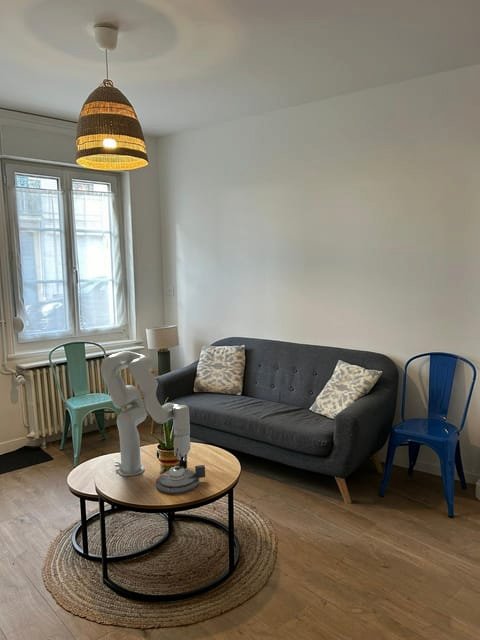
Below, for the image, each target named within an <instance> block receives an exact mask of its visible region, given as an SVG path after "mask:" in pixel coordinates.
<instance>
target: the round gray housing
mask: <svg viewBox="0 0 480 640" xmlns="http://www.w3.org/2000/svg"><path fill="white" fill-rule="evenodd" d="M184 473H185V478H184V479H183V480H179V481H172V480H170V479H169V470H165V472H163V473H161V474H160V475H159V476H158V478H159V483H160V484H161V485H162V486H165V487H169V488H179V487H184V486H187V485H190V484H192V483H193V482H194V481H195V480H196V478H199V479H201V478H202V479H203V478H206V465H205V464H200V465H194V471H193V470H191V469H187V468H186V469H184Z"/></svg>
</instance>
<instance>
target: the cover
mask: <svg viewBox="0 0 480 640" xmlns="http://www.w3.org/2000/svg"><path fill="white" fill-rule="evenodd" d="M168 471H169V479H170V480H172V481H179V480H183V479H184V478H185V473H184V467H182V466H180V465H175V466H174V467H171V468H170V469H169V470H168Z"/></svg>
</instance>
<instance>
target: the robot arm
mask: <svg viewBox="0 0 480 640" xmlns="http://www.w3.org/2000/svg"><path fill="white" fill-rule="evenodd" d="M126 368H127V369H128V372H129V374H130V375H131V377H132V378H133V380H134V381H135V382H136V384H137V386H138V387H139V388H140V390H141V391H142V394H143V395H141V393H140V391H139V389H138V388H137V387H136V386H134V385H131V384H127V385H126V384H125V380H124V378H123V377H122V375H121V374H120V373H119V371H121V370H124V369H126ZM153 368H154V362H153V360H152V359H151V358H150V357H149V356H146V355H143V354H141V353H137V352H134V351H129V350H123V351H120V352H116V353H112V354H110V355H108V356H107V357H105V358H104V359H103V361H102V362H101V364H100V373H101V376H102V378H103V381H104V383H105V385H106V388H107V391H108V393H109V394H108V395H109V396H110V399H111V401H112V402H111V403H112V404H113V406H114V407H115V408H117V409H123V411H121V412H120V413H119V414H118V415H117V417H116V425H117V429H118V430H117V431H118V435H119V449H120V450H119V451H120V461H119V460H116V461H115V463H114V467H115V468H119V469H118V470H117V471H118V474H119V475H120V476H122V477H133V476H137V475H139V474H142V473H143V472H144V471H145V466H144V465H142V464H141V463H142V462H141V446H140V433H139V431H138V428H137V426H138V425H140V424H142V423H143V422H144V421H145V420H146V419H147V413H148V414H149V416H150V417H151V419H153V421H154V422H155V423H157V424H161V425H163V424H165V423H167V422H169V420H171V419H172V420H173V435H174V437H173V447H174V456H176V455H177V460H178V462H179V466H182V467H184V469H187V468H188V461H187V460H188V453H189V452H190V451H191V438H190V434H191V427H190V423H191V422H190V407H189V406H188V405H186V404H176V403H174V402H166V403H164V404H163V405H161V404H160V401H159V400H158V397H157V389H158V386H159V382H158V381H157V378H155V376H154V374H153V373H152V372H151V371H152V370H153ZM142 396H143V398H142ZM125 407H127V408H126V409H124V408H125Z"/></svg>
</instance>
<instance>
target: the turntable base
mask: <svg viewBox="0 0 480 640" xmlns="http://www.w3.org/2000/svg"><path fill="white" fill-rule="evenodd" d="M199 485H200V478H196V480H195V481H194V482H193V483H192V484H190V485H187V486H184V487H179V488H169V487H165V486H162V485H161V484H160V483H159V477H158V478H157V479H156V480H155V488H156V490H157V491H159V492H160V493H163V494H166V495H181V494H186V493H188V492H192V491H193V490H195V489H197V488H198V487H199Z"/></svg>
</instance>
